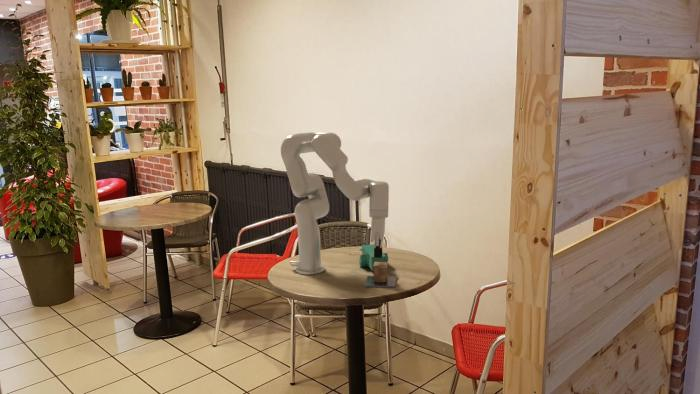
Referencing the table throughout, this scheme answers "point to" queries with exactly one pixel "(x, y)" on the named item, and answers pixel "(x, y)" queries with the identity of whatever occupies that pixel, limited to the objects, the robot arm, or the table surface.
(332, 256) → the table surface
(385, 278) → the tan cardboard carton
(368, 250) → the toy
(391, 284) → the grey base plate
